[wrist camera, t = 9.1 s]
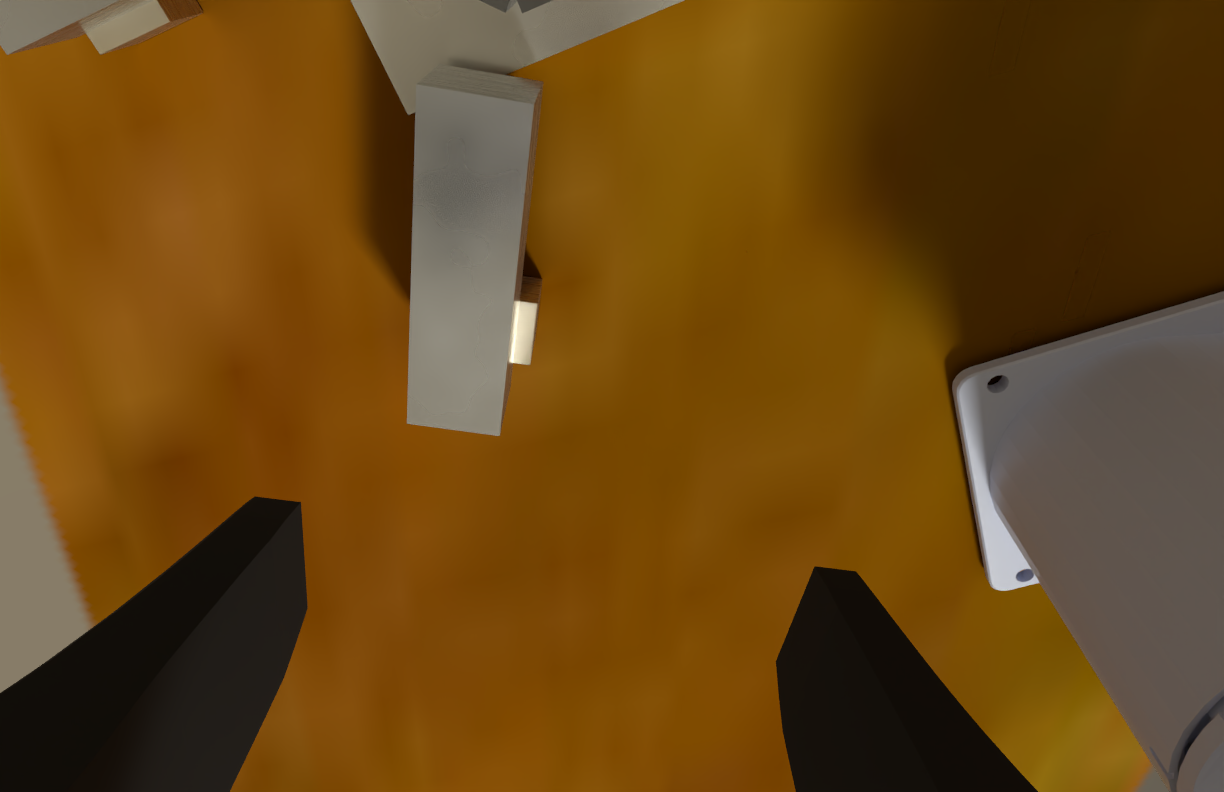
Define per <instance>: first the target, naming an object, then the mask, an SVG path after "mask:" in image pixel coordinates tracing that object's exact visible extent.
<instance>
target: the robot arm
mask: <svg viewBox="0 0 1224 792" xmlns="http://www.w3.org/2000/svg"><path fill="white" fill-rule="evenodd" d="M998 375H1002V378H1001V379H1000V380H999V381H998V382H997V383H995V384H993V385H987V384H988V382H989V381H990V379H991V378H993V377H995V376H998ZM952 391H953V397H954V402H955V408H956V414H957V419H958V425H959V430H960V436H961V442H962V447H963V453H964V458H965V464H966V470H967V475H968V481H969V486H970V492H971V498H972V503H973V509H974V514H975V520H976V525H977V531H978V537H979V542H980V548H981V553H982V559H983V565H984V570H985V576H986V578H987V579H988V581H989V583H990V585H991V587H993V588H994V589H996V590H1001V591H1005V590H1011V589H1016V588H1020V587H1024V586H1028V585H1032V584H1036V583H1040V584H1041V586H1042V587H1043V589H1044V590H1045V592H1046V594H1047V595H1048V597H1049V599H1050V600H1051V602H1052V603H1053V605H1054V607H1055V608H1056V610H1057V611H1058V613H1059V615H1060V616H1061V618H1062V619H1063V621H1064V623H1065V624H1066V626H1067V628H1068V629H1069V631H1070V632H1071V634H1072V636H1073V637H1074V639H1075V640H1076V642H1077V644H1078V645H1079V647H1080V648H1081V650H1082V652H1083V653H1084V655H1085V657H1086V658H1087V660H1088V661H1089V663H1090V665H1091V666H1092V668H1093V669H1094V671H1095V673H1096V674H1097V676H1098V678H1099V679H1100V681H1101V682H1102V684H1103V686H1104V687H1105V689H1106V690H1107V692H1108V694H1109V695H1110V697H1111V698H1112V700H1113V702H1114V703H1115V705H1116V707H1117V708H1118V710H1119V711H1120V713H1121V715H1122V716H1123V718H1124V719H1125V721H1126V723H1127V724H1128V726H1129V727H1130V729H1131V731H1132V732H1133V734H1134V736H1135V737H1136V739H1137V740H1138V742H1139V744H1140V745H1141V747H1142V748H1143V750H1144V752H1145V753H1146V755H1147V757H1148V758H1149V760H1150V761H1151V763H1152V765H1153V766H1154V768H1155V769H1156V771H1157V773H1158V774H1159V776H1160V777H1161V779H1162V781H1163V782H1164V784H1165V785H1166V787H1167V789H1168V790H1169V792H1224V291H1223V292H1219V293H1216V294H1213V295H1209V296H1206V297H1203V298H1199V299H1196V300H1193V301H1189V302H1186V303H1182V304H1179V305H1176V306H1172V307H1169V308H1166V309H1162V310H1159V311H1156V312H1152V313H1149V314H1146V315H1142V316H1139V317H1136V318H1132V319H1129V320H1126V321H1122V322H1119V323H1116V324H1112V325H1109V326H1106V327H1102V328H1099V329H1096V330H1092V331H1089V332H1086V333H1082V334H1079V335H1076V336H1072V337H1069V338H1065V339H1062V340H1059V341H1055V342H1052V343H1049V344H1045V345H1042V346H1039V347H1035V348H1032V349H1029V350H1025V351H1022V352H1019V353H1015V354H1012V355H1009V356H1005V357H1002V358H999V359H995V360H992V361H989V362H985V363H982V364H979V365H975V366H972V367H969V368H967V369H965V370H962V371H961V372H960V373H959V374H958V375H957V376H956V377H955V379H954V381H953V384H952ZM1023 569H1025V570H1023ZM1021 570H1023V571H1021ZM1019 571H1021V572H1019ZM306 611H307V593H306V577H305V561H304V545H303V530H302V514H301V502H294V501H286V500H278V499H270V498H262V497H254V498H252V499H251V500H249V501H248V502H247V503H245V504H244V505H243V506H242V507H241V508H239V509H238V510H237V511H236V512H235V513H234V514H232V515H231V516H230V517H229V518H228V519H227V520H225V521H224V522H223V523H222V524H221V525H220V526H218V527H217V528H216V529H215V530H214V531H212V532H211V533H210V534H209V535H208V536H207V537H205V538H204V539H203V540H202V541H201V542H200V543H198V544H197V545H196V546H195V547H194V548H192V549H191V550H190V551H189V552H188V553H186V554H185V555H184V556H183V557H182V558H180V559H179V560H178V561H177V562H176V563H174V564H173V565H172V566H171V567H170V568H168V569H167V570H166V571H165V572H163V573H162V574H161V575H160V576H158V577H157V578H156V579H155V580H153V581H152V582H151V583H150V584H148V585H147V586H146V587H145V588H143V589H142V590H141V591H140V592H138V593H137V594H136V595H135V596H133V597H132V598H131V599H130V600H128V601H127V602H126V603H125V604H123V605H122V606H121V607H120V608H118V609H117V610H116V611H114V612H113V613H112V614H110V615H109V616H108V617H107V618H105V619H104V620H102V621H101V622H100V623H98V624H97V625H96V626H94V627H93V628H92V629H90V630H89V631H88V632H86V633H85V634H83V635H82V636H81V637H79V638H78V639H77V640H75V641H74V642H73V643H71V644H70V645H69V646H67V647H66V648H64V649H63V650H62V651H60V652H59V653H58V654H56V655H55V656H54V657H52V658H51V659H49V660H48V661H47V662H45V663H44V664H42V665H41V666H40V667H38V668H37V669H35V670H34V671H32V672H31V673H30V674H28V675H26V676H25V677H23V678H22V679H20V680H19V681H18V682H16V683H15V684H13V685H12V686H10V687H9V688H7V689H6V690H4V691H3V692H1V693H0V792H230V790H231V788H232V786H233V783H234V781H235V779H236V777H237V775H238V773H239V771H240V769H241V767H242V765H243V763H244V761H245V759H246V756H247V754H248V752H249V750H250V748H251V746H252V744H253V742H254V740H255V738H256V736H257V734H258V731H259V729H260V727H261V725H262V723H263V721H264V719H265V717H266V715H267V712H268V710H269V708H270V706H271V704H272V702H273V700H274V698H275V696H276V693H277V691H278V689H279V687H280V685H281V683H282V680H283V678H284V676H285V673H286V670H287V667H288V664H289V661H290V659H291V656H292V653H293V650H294V647H295V644H296V641H297V638H298V635H299V632H300V629H301V626H302V623H303V620H304V617H305V614H306ZM776 667H777V678H778V690H779V701H780V710H781V719H782V728H783V734H784V739H785V744H786V748H787V753H788V758H789V762H790V767H791V771H792V776H793V780H794V785H795V789H796V792H1038V791H1037V790H1036V789H1035V788H1034V787H1033V786H1032V785H1031V784H1030V783H1029V782H1028V781H1027V779H1026V778H1025V777H1024V776H1023V775H1022V774H1021V773H1020V772H1019V771H1018V770H1017V769H1016V767H1015V766H1014V765H1013V764H1012V763H1011V762H1010V761H1009V760H1008V758H1007V757H1006V756H1005V755H1004V754H1003V753H1002V752H1001V751H1000V749H999V748H998V747H997V746H996V745H995V744H994V743H993V742H992V741H991V739H990V738H989V737H988V736H987V735H986V734H985V733H984V732H983V730H982V729H981V728H980V727H979V726H978V725H977V723H976V722H975V721H974V720H973V719H972V717H971V716H970V715H969V714H968V713H967V712H966V710H965V709H964V708H963V707H962V706H961V704H960V703H959V702H958V701H957V700H956V698H955V697H954V696H953V695H952V694H951V692H950V691H949V690H948V689H947V687H946V686H945V685H944V684H943V682H942V681H941V680H940V679H939V677H938V676H937V675H936V674H935V673H934V671H933V670H932V669H931V667H930V666H929V665H928V664H927V662H926V661H925V660H924V659H923V657H922V656H921V655H920V654H919V652H918V651H917V650H916V648H915V647H914V646H913V645H912V643H911V642H910V641H909V639H908V638H907V637H906V635H905V634H904V633H903V632H902V630H901V629H900V628H899V626H898V625H897V624H896V623H895V621H894V620H893V619H892V617H891V616H890V615H889V613H888V612H887V611H886V609H885V608H884V607H883V606H882V604H881V603H880V602H879V600H878V599H877V598H876V596H875V595H874V594H873V592H872V591H871V590H870V589H869V587H868V586H867V585H866V583H865V582H864V581H863V580H862V578H861V577H860V576H859V575H858V573H857V572H855V571H847V570H839V569H831V568H823V567H814V569H813V572H812V574H811V577H810V579H809V582H808V584H807V587H806V589H805V592H804V594H803V596H802V599H801V601H800V604H799V606H798V609H797V611H796V614H795V616H794V619H793V621H792V623H791V626H790V628H789V631H788V633H787V636H786V638H785V641H784V643H783V646H782V648H781V650H780V653H779V655H778V658H777V660H776Z"/></svg>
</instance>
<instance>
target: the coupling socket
mask: <svg viewBox="0 0 1224 792" xmlns="http://www.w3.org/2000/svg"><path fill="white" fill-rule="evenodd" d="M681 1H684V0H351V2H352V4H353V6H354V8H355V10H356V12H357V14H358V16H359V18H360V20H361V22H362V24H363V26H364V28H365V30H366V32H367V34H368V36H369V38H370V40H371V42H372V44H373V46H374V48H375V50H376V52H377V54H378V56H379V58H380V60H381V62H382V64H383V66H384V68H385V70H386V72H387V74H388V76H389V78H390V80H391V82H392V84H393V86H394V88H395V90H396V92H397V94H398V96H399V98H400V100H401V102H402V104H403V106H404V108H405V110H406V112H407V114H408V115H410V114H412V113H414V112H415V145H414V182H413V219H412V256H411V293H410V330H409V367H408V404H407V424H414V425H422V426H429V427H437V428H444V429H451V430H459V431H466V432H474V433H481V434H489V435H496V436H500V432H501V428H502V423H503V419H504V414H505V409H506V405H507V400H508V396H509V391H510V386H511V376H512V367H513V363H519V364H526V365H530V362H531V357H532V352H533V346H534V341H535V335H536V327H537V319H538V311H539V302H540V294H541V286H542V279H541V278H535V277H528V276H522V275H523V266H524V256H525V247H526V238H527V229H528V219H529V210H530V201H531V192H532V182H533V173H534V164H535V155H536V145H537V136H538V127H539V118H540V108H541V99H542V90H543V82H542V81H536V80H530V79H525V78H519V77H513V76H507V75H506V74H508V73H511V72H513V71H515V70H518V69H520V68H523V67H525V66H527V65H530V64H532V63H535V62H537V61H539V60H542V59H544V58H547V57H549V56H551V55H554V54H556V53H559V52H561V51H564V50H566V49H568V48H571V47H573V46H576V45H578V44H580V43H583V42H585V41H588V40H590V39H592V38H595V37H597V36H600V35H602V34H604V33H607V32H609V31H612V30H614V29H616V28H619V27H621V26H624V25H626V24H628V23H631V22H633V21H636V20H638V19H640V18H643V17H645V16H648V15H650V14H652V13H655V12H657V11H660V10H662V9H664V8H667V7H669V6H672V5H674V4H676V3H679V2H681ZM202 13H203V11H202V9H201V8H200V6H199V4H198V2H197V1H196V0H0V45H1V47H2V48H3V49H4V51H5V52H6V54H7V55H9V54H13V53H17V52H21V51H25V50H29V49H33V48H37V47H41V46H45V45H49V44H53V43H57V42H61V41H65V40H69V39H73V38H77V37H79V36H81V35H83V34H85V33H86V34H87V36H88V37H89V38H90V40H91V41H92V43H93V44H94V46H95V47H96V49H97V50H98V52H99V53H100V55H101V54H104V53H108V52H111V51H115V50H118V49H121V48H125V47H128V46H132V45H135V44H138V43H141V42H143V41H145V40H147V39H149V38H151V37H153V36H155V35H157V34H160V33H162V32H164V31H166V30H168V29H170V28H172V27H174V26H177V25H179V24H181V23H183V22H185V21H187V20H189V19H191V18H194V17H196V16H198V15H200V14H202Z"/></svg>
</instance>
